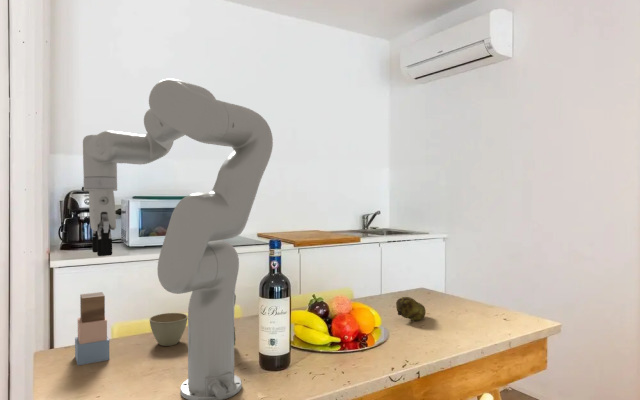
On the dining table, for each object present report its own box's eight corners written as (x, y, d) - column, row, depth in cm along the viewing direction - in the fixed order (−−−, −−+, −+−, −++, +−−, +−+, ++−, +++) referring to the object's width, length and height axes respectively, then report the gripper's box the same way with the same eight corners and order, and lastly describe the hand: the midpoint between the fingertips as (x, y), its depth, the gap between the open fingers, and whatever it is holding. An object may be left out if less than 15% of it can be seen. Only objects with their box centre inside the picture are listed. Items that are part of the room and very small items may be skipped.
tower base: (109, 359, 112) (109, 340, 112) (77, 365, 108) (77, 345, 108) (105, 351, 118) (105, 332, 117) (75, 356, 114) (75, 337, 114)
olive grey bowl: (176, 350, 118) (176, 323, 118) (142, 347, 120) (141, 321, 120) (194, 338, 128) (194, 313, 128) (162, 336, 130) (162, 311, 130)
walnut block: (104, 319, 112) (104, 295, 112) (82, 322, 109) (82, 298, 109) (102, 315, 116) (102, 292, 116) (80, 317, 113) (80, 294, 113)
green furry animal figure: (435, 320, 146) (435, 296, 146) (404, 326, 140) (405, 300, 140) (418, 314, 154) (418, 291, 154) (388, 319, 147) (388, 295, 147)
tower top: (107, 340, 112) (106, 320, 112) (79, 344, 108) (79, 323, 108) (103, 333, 117) (103, 314, 117) (77, 337, 113) (77, 317, 113)
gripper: (123, 183, 106) (124, 255, 106) (111, 186, 121) (113, 249, 121) (87, 183, 102) (89, 258, 102) (80, 186, 117) (81, 251, 117)
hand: (102, 253), depth 112 cm, fingers open, 9 cm apart
